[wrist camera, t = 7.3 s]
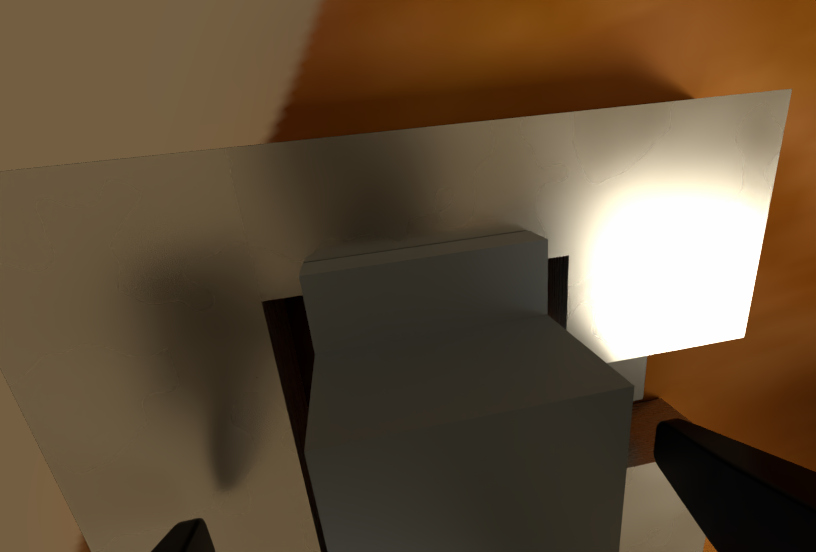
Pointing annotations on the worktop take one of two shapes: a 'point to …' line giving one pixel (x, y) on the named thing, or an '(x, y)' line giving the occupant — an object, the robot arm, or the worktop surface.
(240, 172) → the plate
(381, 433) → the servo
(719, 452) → the robot arm
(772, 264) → the worktop surface
